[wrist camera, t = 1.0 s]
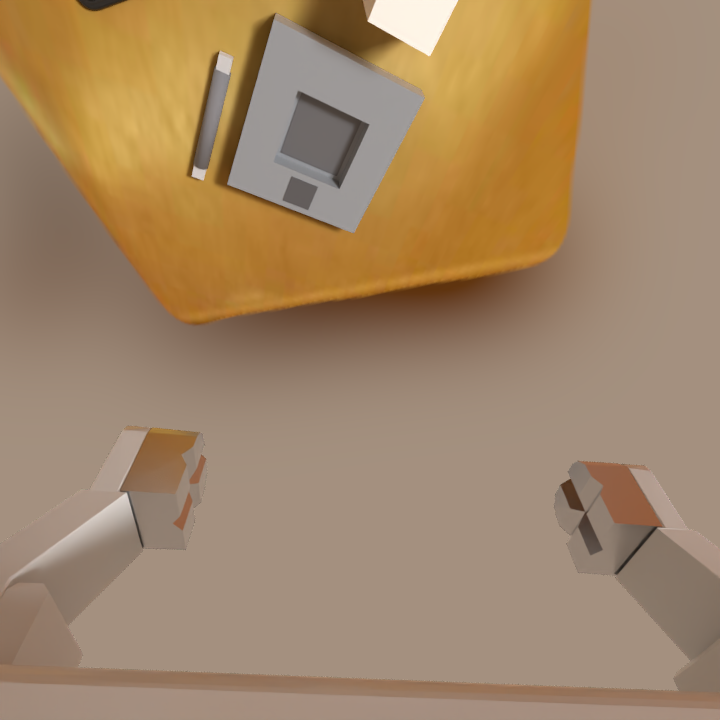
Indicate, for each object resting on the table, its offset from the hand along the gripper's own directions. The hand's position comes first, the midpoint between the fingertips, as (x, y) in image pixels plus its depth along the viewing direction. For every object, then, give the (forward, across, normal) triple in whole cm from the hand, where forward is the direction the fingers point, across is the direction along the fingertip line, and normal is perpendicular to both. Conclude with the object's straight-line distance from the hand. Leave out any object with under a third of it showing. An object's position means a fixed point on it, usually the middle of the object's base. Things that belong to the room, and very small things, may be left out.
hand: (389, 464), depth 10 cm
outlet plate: (+36, +4, +1) cm, 36 cm away
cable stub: (+36, +12, +1) cm, 38 cm away
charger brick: (+35, -2, -10) cm, 36 cm away
